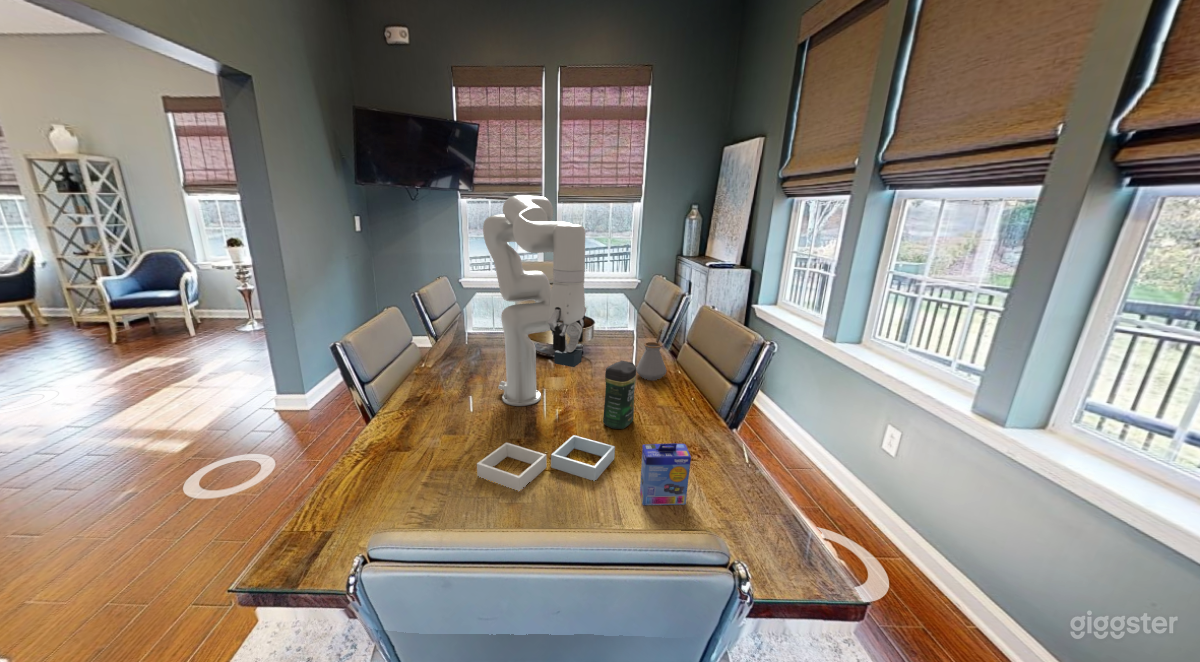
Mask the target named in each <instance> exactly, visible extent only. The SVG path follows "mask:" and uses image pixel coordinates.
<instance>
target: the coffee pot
mask: <svg viewBox="0 0 1200 662" xmlns="http://www.w3.org/2000/svg"><path fill="white" fill-rule="evenodd" d="M664 332H665V330H664V329H659V330H658V334H657V336H656V339H655V341H647V342H645V343H644V344H643V345H644V348H645V350H644V352H643V354H642V356H641V358H640V359H639V361H638V363H637V364H636V365H637V366H636V374H638V376H640V378H641V377H642V378H641V379H643V378H644V379H643V380H646V379H647V380H646V381H658V380H657V379H659V380H660V379H662V378H663V377H664V376H666V374H667V368H666V364H665V362H664V360H663V357H662V354H661V351H660V349H662V348H663V345H662V344H661V343H659V342H660V340H661V336H662V334H664Z"/></svg>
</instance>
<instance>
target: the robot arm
mask: <svg viewBox="0 0 1200 662" xmlns="http://www.w3.org/2000/svg"><path fill="white" fill-rule="evenodd" d="M502 212H503V214H495V215H494V214H493V215H490V216H488V217H487V218H486V219H485V220H484V221H483V223H482V224H483V225H482V231H483V239H484V243H485V245H486V249H487V250H488V253H489V254H490V256H491V258H492V260H493V264H494V267H495V273H496V276H497V277H496V278H497V281H498V282H497V283H498V287H499V291H500V295H501V297H502V299H503V300H505V302H509V303H510V302H513V303H514V302H526V303H516V304H512V305H509V306H507V307H505V308H504V309H503V310H502V312H501V317H500V319H501V320H500V321H501V325H502V330H503V335H504V345H505V346H504V347H505V348H504V349H505V372H506V373H505V374H506V381H504V380H501V381H500V382H499V385H498V387H497V388H498V389H499V390H503V394H502V395H501V397H502V402H503V403H504V404H506V405H509V406H513V407H514V406H516V407H524V406H527V407H528V406H531V405H534V404H536V403H538V402H540V400H541V399H542V393H541V392H540V391H539V390H537V360H536V359H537V353H536V351H537V349H536V346H535V343H534V342H533V340H531V338H530V337H529V335H530V334H531V335H532V334H536V333H544V332H550V331H551V335H552V349H553V350H554V351H565V340H566V336H565V335H564V332H565V329H566V326H567V325H569V324H572V323H574V322H577V323H579V324H580V325H581V327H582V333H581V336H580V339H579V340H578V343H582V342H583V339H584V337H583V336H584V326H585V323H584V321H585V319H586V313H587V307H586V306H585V305H586V302H585V301H586V299H585V297H586V296H585V286H584V285H585V269H586V268H585V265H586V263H585V262H586V229H585V228H584V226H583V225H581V224H578V223H577V224H575V223H574V224H573V223H572V222H567V221H553V216H554V207H553V204H552V202H551V201H550V200H549V199H548V198H546V197H545V196H542V195H541V196H540V195H512V196H510V197H508V198H507V199H506V200H505V201H504V203H503V205H502ZM508 243H515V244H517V246H518V247H520V248H521V249H522V250H524V251H525V252H527V253H532V254H540V253H553V255H552V257H553V260H552V261H553V267H552V268H553V270H552V272H553V273H552V275H553V276H552V277H553V281H552V282H553V283H552V285H551V284H550V280H549V278H548V276H547V275H546V273H545V272H543V271H541V270H525V269H524V267H523V262H522V259H521V256H520V254H519V253H518V252H517V251H516V250H515V248H513V246H511V245H510V244H508ZM528 301H534V302H530V303H529V302H528ZM527 302H528V303H527ZM562 322H563V323H562ZM560 326H562V327H561V330H560V328H559V327H560Z"/></svg>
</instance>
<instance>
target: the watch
mask: <svg viewBox="0 0 1200 662" xmlns="http://www.w3.org/2000/svg"><path fill="white" fill-rule="evenodd" d="M561 322H562V323H563V321H561ZM558 327H559V328H560V330H561V327H562V326H558ZM581 333H582V327H581V325H580V324H579V323H577V322H574V323H572V324H569V325H567V326H566V329H565V332H564V335H565V337H566V336H567V337H568V338H569V341H567V340H566V339H565V351H557V350H554V357H553V358H554V362H553V363H554V364H555V365H559V366H564V367H565V366H567V367H572V368H575V367H576V366H578V365H579V364H581V363H582V360H583V359H582V356H583V354H582V352H583V351H582V350H581V349H577V347H578V344H579V342H578V340H579V339H580V336H581Z"/></svg>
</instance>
